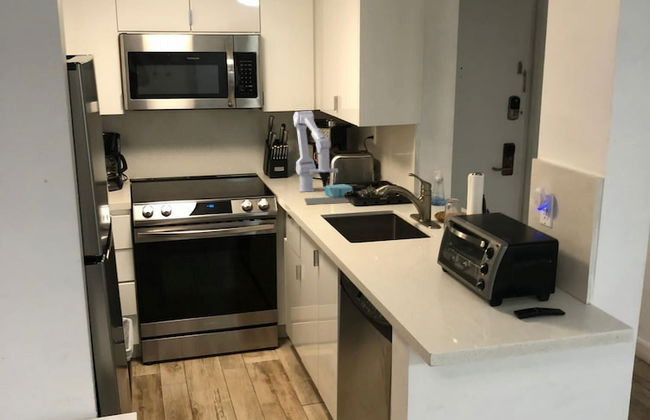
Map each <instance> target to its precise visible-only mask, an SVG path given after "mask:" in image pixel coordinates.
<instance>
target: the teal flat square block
mask: <svg viewBox="0 0 650 420" xmlns="http://www.w3.org/2000/svg"><path fill="white" fill-rule="evenodd" d="M351 191H352V192H353V186H351V185H349V184H348V185H347V184H344V183H342V184H340V183H339V184H329V185H326V187H324V195H326V196H327V197H343V196H344V194H345V193H347V192H351Z"/></svg>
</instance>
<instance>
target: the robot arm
mask: <svg viewBox="0 0 650 420" xmlns="http://www.w3.org/2000/svg"><path fill="white" fill-rule="evenodd" d="M292 117H293V125H294V128H296V133H297V141H298V150H299V156H300V157H299V158H298V159H297V160H296V162H295V171H296V174H297V176H299V187H298V191H299V192H300V193H306V192H315V189H314V184H313V182H314V179H313V175H314V174H318V175H319V177H320V179H321V183H322V187H323V188H325V187H326V186H327V183H328V179H329V176H330V173H333V174H334V173H336V174H337V173H339V168H334V167H333V168H330V149H331V147H332V142H331V139H330V138H329V137H327V136H325V134H324V132H323V131H322V128H319V127H318V126H317V125H316V122H315V117H314V112H313V111H312V110H307V111H306V110H304V111H295V112H294V114H293V116H292ZM307 128H308V129H309V130H310V131H311V133H310V134H311V137H312V138H313V140H314V142H315V147H316V152H317V154H318V155H317V156H318V160H317V161H318V168H316V164H315V160H314V159H313V158H311V157H310V152H309V144H308V135H307Z"/></svg>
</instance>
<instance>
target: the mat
mask: <svg viewBox="0 0 650 420" xmlns="http://www.w3.org/2000/svg"><path fill="white" fill-rule="evenodd" d="M304 201H305V203H306V205H307V206H310V205H328V204H329V205H330V204H333V205H334V204H349V203H351V202H350V200H349V199H348V198H347V199H346V198H345V197H344V196H343V197H331V196H327V197H326V196H325V197H309V198H308V197H307V198H304Z"/></svg>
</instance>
